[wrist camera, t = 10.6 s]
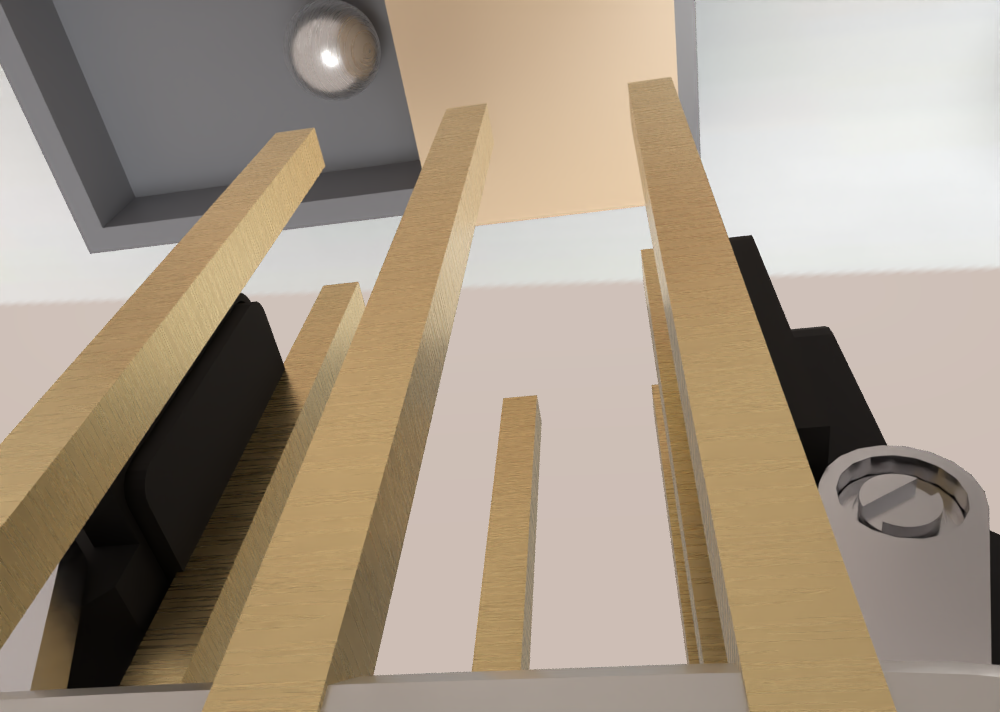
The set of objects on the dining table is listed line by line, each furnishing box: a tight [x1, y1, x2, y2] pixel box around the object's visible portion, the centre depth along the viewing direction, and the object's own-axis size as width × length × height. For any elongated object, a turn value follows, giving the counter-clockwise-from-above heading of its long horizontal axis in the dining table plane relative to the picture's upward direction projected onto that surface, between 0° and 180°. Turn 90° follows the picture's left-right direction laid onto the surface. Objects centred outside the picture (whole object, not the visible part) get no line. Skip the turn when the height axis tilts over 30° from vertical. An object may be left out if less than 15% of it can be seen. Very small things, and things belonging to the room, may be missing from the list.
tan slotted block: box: [0, 77, 897, 712], centre depth 9 cm, size 6×6×11 cm
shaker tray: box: [0, 0, 701, 254], centre depth 29 cm, size 12×24×8 cm, turn 99°
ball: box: [283, 0, 381, 101], centre depth 30 cm, size 3×3×3 cm
